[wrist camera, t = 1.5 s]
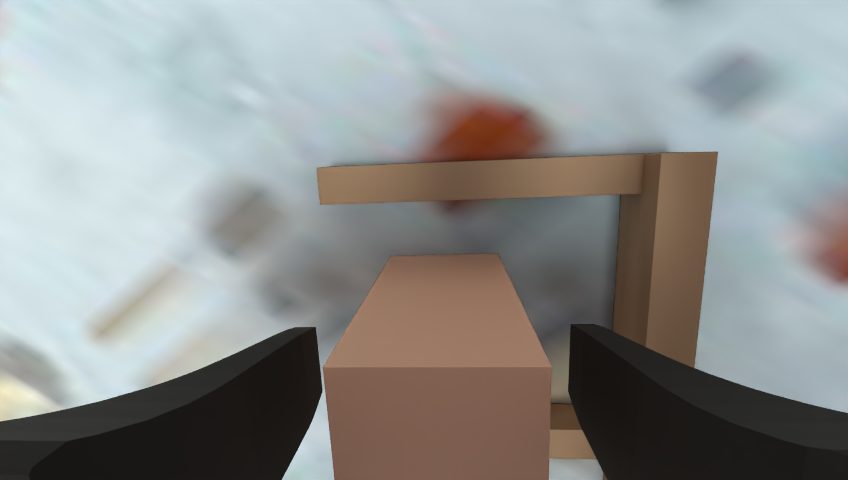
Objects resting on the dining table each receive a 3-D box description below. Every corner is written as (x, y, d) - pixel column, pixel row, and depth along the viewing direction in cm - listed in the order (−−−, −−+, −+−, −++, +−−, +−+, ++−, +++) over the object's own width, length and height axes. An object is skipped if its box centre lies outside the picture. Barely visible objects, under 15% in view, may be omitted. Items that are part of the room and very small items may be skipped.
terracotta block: (497, 253, 15) (551, 366, 7) (498, 352, 15) (546, 556, 8) (391, 255, 15) (322, 366, 7) (396, 353, 16) (341, 550, 8)
